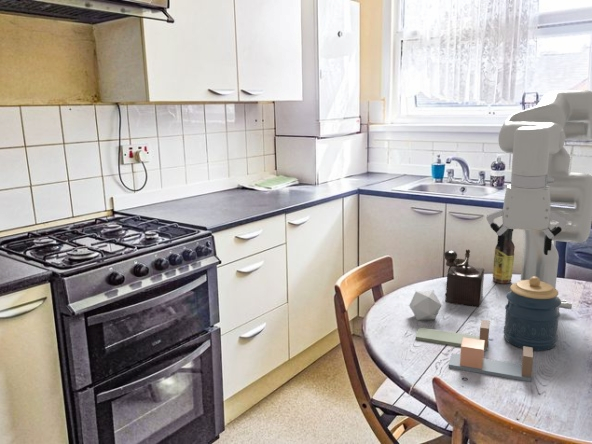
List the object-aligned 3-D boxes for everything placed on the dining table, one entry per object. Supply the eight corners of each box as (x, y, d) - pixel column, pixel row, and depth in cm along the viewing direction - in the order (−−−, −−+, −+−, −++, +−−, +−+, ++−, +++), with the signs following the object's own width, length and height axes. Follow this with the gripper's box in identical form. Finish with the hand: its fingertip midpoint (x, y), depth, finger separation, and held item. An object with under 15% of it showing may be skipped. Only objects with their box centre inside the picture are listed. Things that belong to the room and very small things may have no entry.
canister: (553, 332, 141) (559, 271, 137) (560, 354, 129) (567, 288, 125) (502, 326, 145) (506, 266, 141) (503, 347, 133) (509, 282, 129)
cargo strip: (530, 369, 123) (532, 346, 121) (530, 381, 117) (533, 358, 116) (451, 356, 130) (452, 334, 128) (448, 367, 124) (449, 345, 123)
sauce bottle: (489, 278, 182) (492, 223, 178) (506, 277, 183) (510, 223, 178) (497, 285, 176) (501, 228, 171) (515, 284, 176) (520, 227, 172)
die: (434, 328, 146) (450, 298, 147) (407, 313, 147) (423, 283, 148) (426, 326, 154) (442, 298, 156) (401, 311, 155) (416, 283, 156)
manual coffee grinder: (448, 291, 172) (450, 238, 168) (483, 295, 168) (486, 242, 163) (439, 308, 158) (442, 251, 154) (477, 313, 154) (481, 255, 150)
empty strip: (488, 340, 137) (489, 320, 136) (487, 350, 132) (488, 329, 130) (419, 330, 144) (420, 310, 143) (415, 339, 139) (416, 319, 137)
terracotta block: (483, 359, 126) (484, 340, 125) (482, 369, 122) (483, 349, 120) (462, 355, 128) (463, 337, 127) (459, 365, 123) (461, 346, 122)
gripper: (569, 179, 119) (562, 249, 124) (489, 176, 126) (485, 243, 130) (572, 185, 113) (565, 259, 117) (487, 183, 119) (484, 253, 124)
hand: (523, 251), depth 124 cm, fingers open, 9 cm apart
